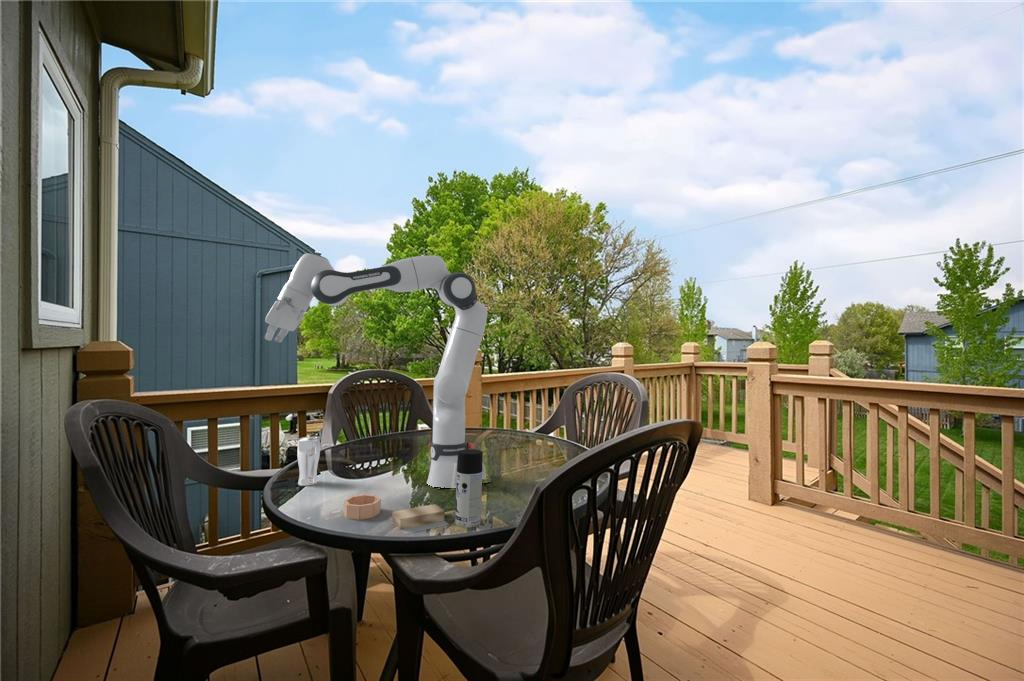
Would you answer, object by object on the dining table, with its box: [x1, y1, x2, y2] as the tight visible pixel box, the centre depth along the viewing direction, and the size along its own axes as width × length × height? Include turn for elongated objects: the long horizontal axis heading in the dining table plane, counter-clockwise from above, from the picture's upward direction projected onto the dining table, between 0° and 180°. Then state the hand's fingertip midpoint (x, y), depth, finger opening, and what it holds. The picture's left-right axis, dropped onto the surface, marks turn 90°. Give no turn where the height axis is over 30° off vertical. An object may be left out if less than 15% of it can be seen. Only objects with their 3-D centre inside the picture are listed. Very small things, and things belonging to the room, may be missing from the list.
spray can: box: [454, 448, 484, 528], centre depth 123 cm, size 7×7×20 cm
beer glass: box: [296, 436, 321, 487], centre depth 158 cm, size 7×7×15 cm
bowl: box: [342, 493, 382, 521], centre depth 128 cm, size 9×9×5 cm
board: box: [391, 503, 445, 531], centre depth 123 cm, size 12×6×3 cm, turn 123°
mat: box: [388, 516, 450, 535], centre depth 123 cm, size 12×12×2 cm
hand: (272, 340), depth 145 cm, fingers open, 8 cm apart
